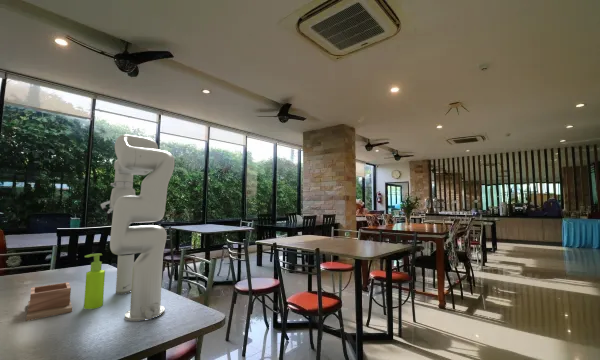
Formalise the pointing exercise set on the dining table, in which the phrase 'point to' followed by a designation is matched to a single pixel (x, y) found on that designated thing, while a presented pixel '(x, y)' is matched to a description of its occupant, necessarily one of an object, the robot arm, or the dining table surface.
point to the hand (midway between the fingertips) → (121, 221)
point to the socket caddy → (49, 301)
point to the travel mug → (124, 273)
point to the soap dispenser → (94, 284)
